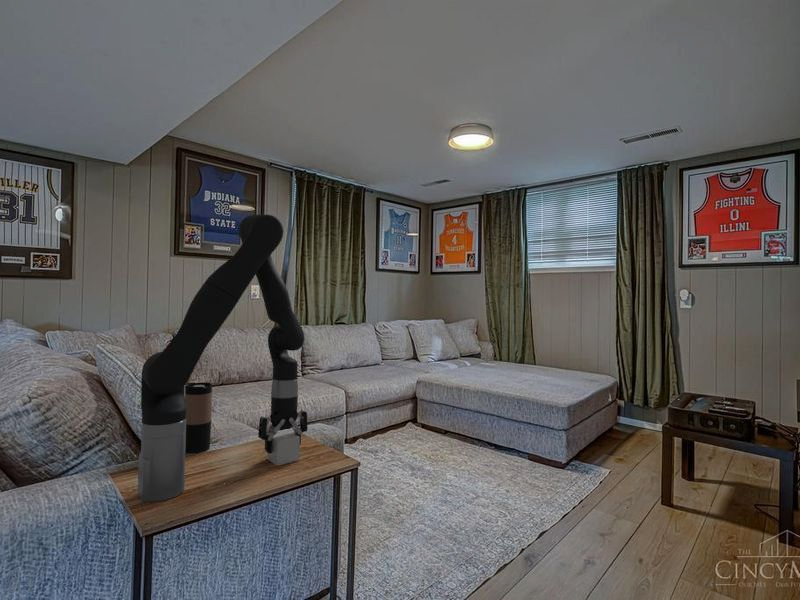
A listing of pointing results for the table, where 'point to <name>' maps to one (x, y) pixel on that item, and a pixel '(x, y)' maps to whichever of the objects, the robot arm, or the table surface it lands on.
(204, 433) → the travel mug
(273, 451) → the matte gray cube
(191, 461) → the table surface
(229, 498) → the table surface
